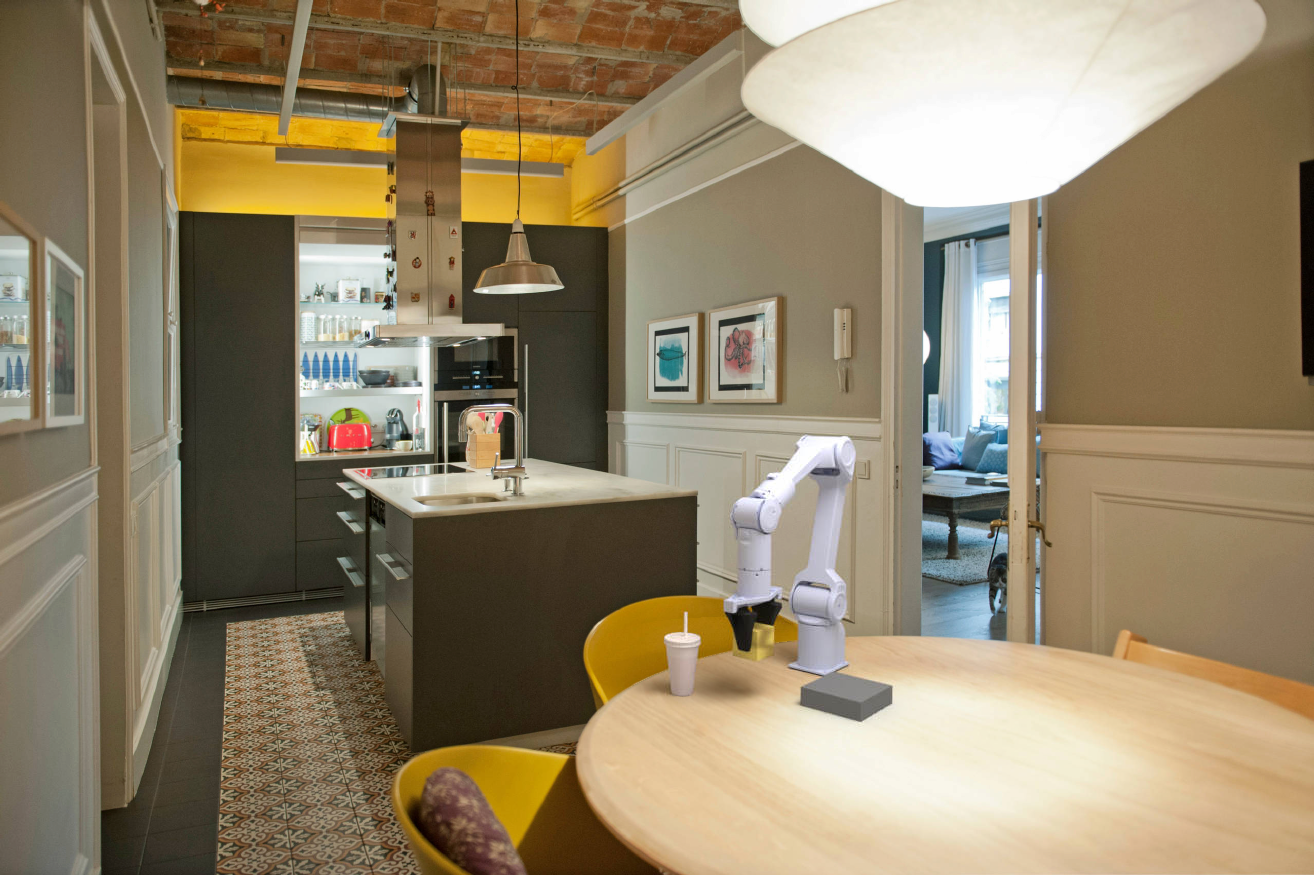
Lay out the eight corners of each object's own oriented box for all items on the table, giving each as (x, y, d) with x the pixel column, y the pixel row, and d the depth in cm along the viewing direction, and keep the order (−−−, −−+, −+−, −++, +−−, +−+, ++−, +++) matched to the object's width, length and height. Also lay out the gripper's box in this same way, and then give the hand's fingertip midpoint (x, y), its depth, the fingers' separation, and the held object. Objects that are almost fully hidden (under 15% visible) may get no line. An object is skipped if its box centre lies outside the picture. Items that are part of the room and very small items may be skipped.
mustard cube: (749, 649, 147) (750, 621, 146) (773, 655, 143) (774, 626, 143) (732, 655, 143) (733, 626, 143) (757, 661, 140) (757, 632, 139)
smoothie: (701, 699, 141) (701, 617, 141) (663, 698, 142) (663, 616, 141) (700, 686, 148) (700, 608, 147) (663, 686, 148) (664, 607, 147)
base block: (833, 691, 147) (833, 671, 147) (892, 706, 140) (892, 685, 140) (800, 707, 139) (800, 686, 139) (860, 724, 132) (861, 702, 131)
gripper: (759, 559, 151) (758, 634, 151) (709, 571, 140) (708, 651, 140) (792, 564, 146) (791, 641, 146) (743, 576, 135) (743, 660, 136)
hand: (753, 647), depth 143 cm, fingers closed on mustard cube, 5 cm apart
